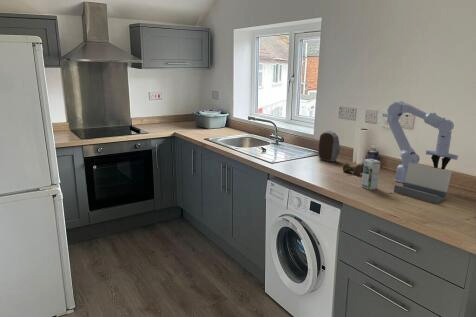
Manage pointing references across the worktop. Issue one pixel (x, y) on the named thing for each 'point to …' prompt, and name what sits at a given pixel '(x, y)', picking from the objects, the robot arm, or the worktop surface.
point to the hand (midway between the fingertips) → (438, 170)
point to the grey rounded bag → (328, 146)
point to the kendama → (353, 168)
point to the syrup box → (370, 174)
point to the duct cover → (428, 176)
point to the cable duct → (420, 192)
